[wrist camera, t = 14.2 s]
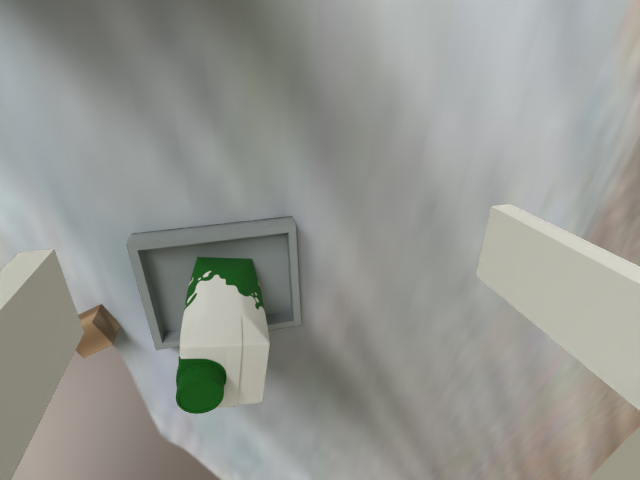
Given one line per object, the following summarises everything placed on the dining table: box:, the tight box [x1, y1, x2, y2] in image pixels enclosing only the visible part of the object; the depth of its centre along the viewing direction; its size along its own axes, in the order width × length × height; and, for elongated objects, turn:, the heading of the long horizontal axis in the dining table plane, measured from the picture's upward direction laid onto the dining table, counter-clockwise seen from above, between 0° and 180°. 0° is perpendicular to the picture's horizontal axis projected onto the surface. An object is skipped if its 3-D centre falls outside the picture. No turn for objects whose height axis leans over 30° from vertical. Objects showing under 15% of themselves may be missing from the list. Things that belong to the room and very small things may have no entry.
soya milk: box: [176, 257, 270, 414], centre depth 41 cm, size 9×9×20 cm
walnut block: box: [76, 304, 120, 358], centre depth 47 cm, size 4×4×4 cm
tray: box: [126, 216, 301, 350], centre depth 49 cm, size 16×20×3 cm
